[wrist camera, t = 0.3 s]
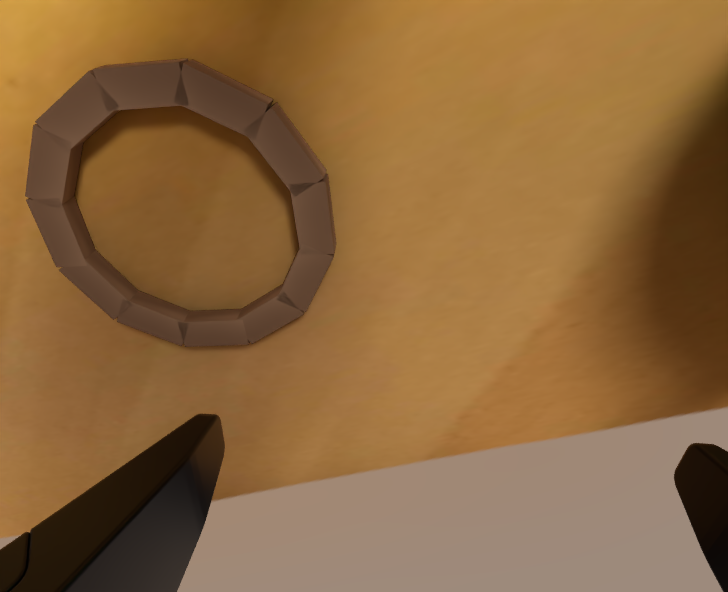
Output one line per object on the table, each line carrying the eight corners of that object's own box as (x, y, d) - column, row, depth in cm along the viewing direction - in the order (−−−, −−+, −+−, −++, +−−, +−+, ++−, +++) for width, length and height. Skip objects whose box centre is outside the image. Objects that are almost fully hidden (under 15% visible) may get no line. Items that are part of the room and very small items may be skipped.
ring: (-12, 74, 20) (-29, 79, 19) (313, 48, 19) (309, 51, 18) (103, 338, 27) (94, 349, 26) (346, 329, 26) (344, 341, 25)
